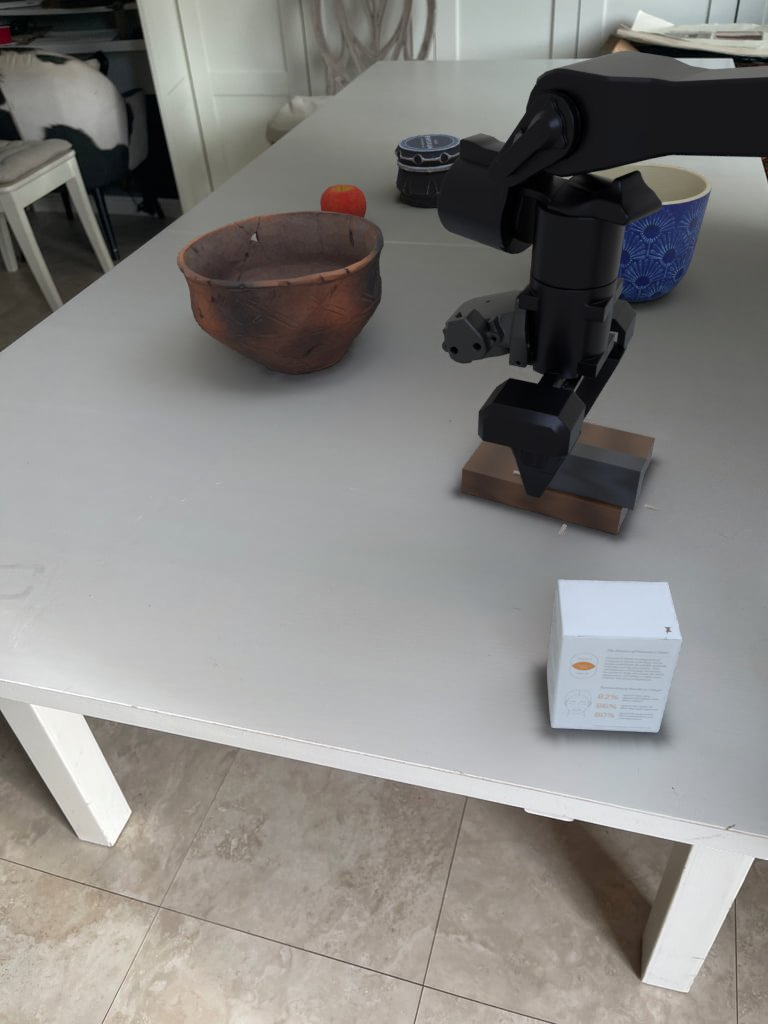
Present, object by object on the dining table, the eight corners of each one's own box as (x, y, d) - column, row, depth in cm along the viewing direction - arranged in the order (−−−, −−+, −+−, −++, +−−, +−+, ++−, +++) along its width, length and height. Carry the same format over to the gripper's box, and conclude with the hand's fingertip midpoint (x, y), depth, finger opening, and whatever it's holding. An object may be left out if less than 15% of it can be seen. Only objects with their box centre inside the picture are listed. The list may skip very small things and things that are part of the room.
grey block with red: (639, 497, 76) (647, 456, 73) (633, 510, 74) (641, 469, 71) (537, 471, 80) (541, 431, 77) (530, 483, 78) (533, 443, 75)
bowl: (272, 299, 120) (257, 196, 111) (420, 329, 111) (418, 219, 101) (163, 377, 104) (134, 264, 94) (326, 420, 94) (312, 299, 85)
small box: (647, 675, 64) (671, 579, 57) (659, 735, 59) (686, 640, 53) (544, 670, 64) (556, 576, 58) (548, 729, 60) (561, 634, 53)
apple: (376, 228, 141) (374, 182, 136) (344, 242, 137) (340, 195, 132) (345, 218, 145) (342, 173, 140) (313, 232, 141) (309, 186, 136)
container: (385, 194, 154) (382, 139, 148) (444, 182, 158) (444, 128, 152) (415, 214, 145) (413, 156, 139) (477, 201, 149) (478, 144, 143)
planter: (705, 279, 118) (728, 171, 109) (665, 326, 108) (687, 211, 98) (596, 258, 126) (608, 156, 117) (549, 299, 116) (558, 191, 106)
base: (680, 468, 84) (686, 443, 82) (634, 582, 71) (639, 556, 69) (507, 427, 91) (509, 403, 89) (438, 524, 79) (438, 499, 77)
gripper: (506, 210, 63) (497, 384, 73) (403, 311, 50) (409, 505, 60) (652, 228, 59) (621, 410, 69) (579, 343, 46) (554, 546, 56)
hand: (552, 462), depth 63 cm, fingers open, 9 cm apart
